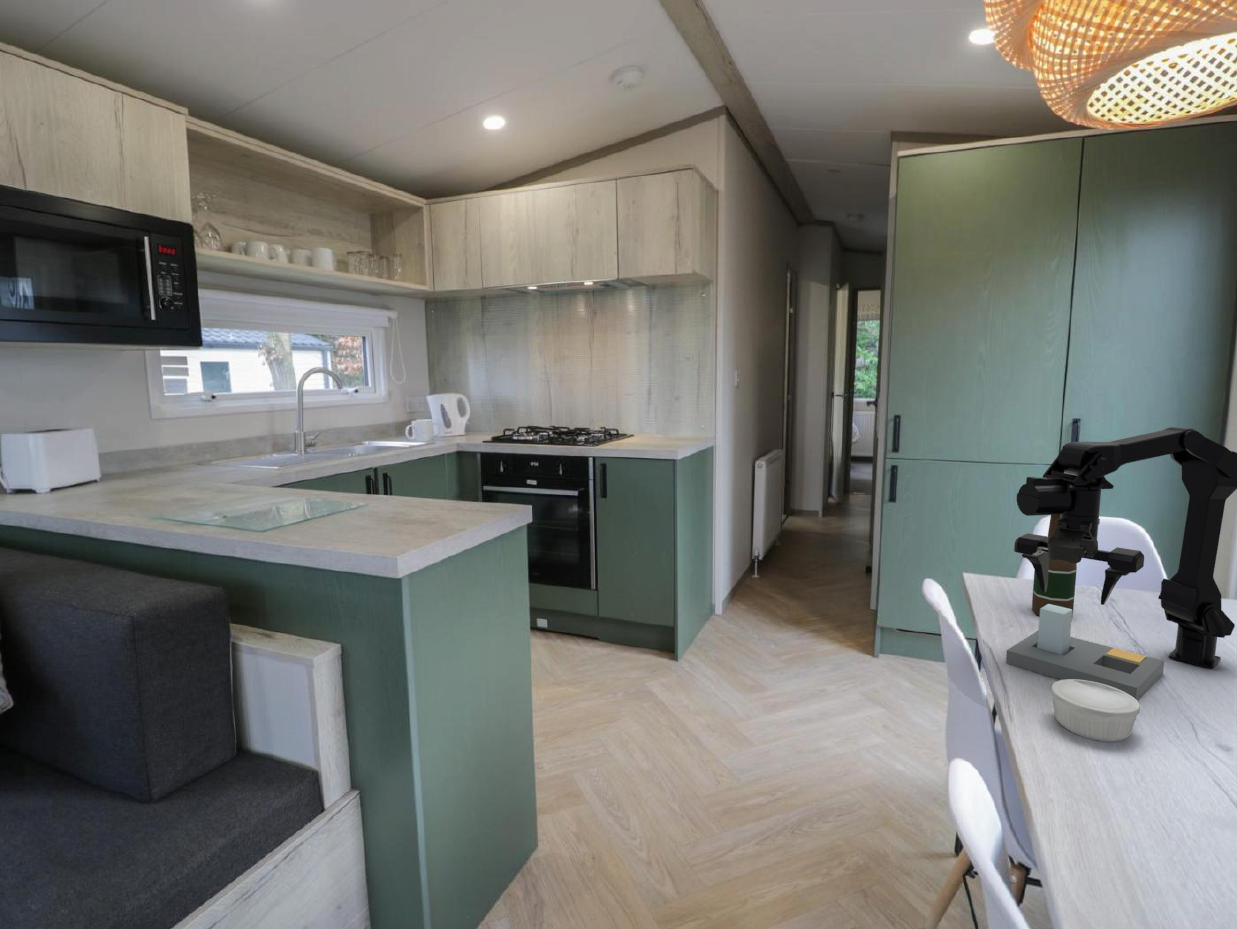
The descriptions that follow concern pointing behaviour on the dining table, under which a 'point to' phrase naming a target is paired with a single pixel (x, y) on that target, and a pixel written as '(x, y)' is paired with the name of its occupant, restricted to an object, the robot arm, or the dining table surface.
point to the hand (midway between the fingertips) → (1072, 597)
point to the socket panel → (1089, 664)
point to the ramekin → (1094, 709)
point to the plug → (1054, 629)
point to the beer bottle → (1055, 581)
